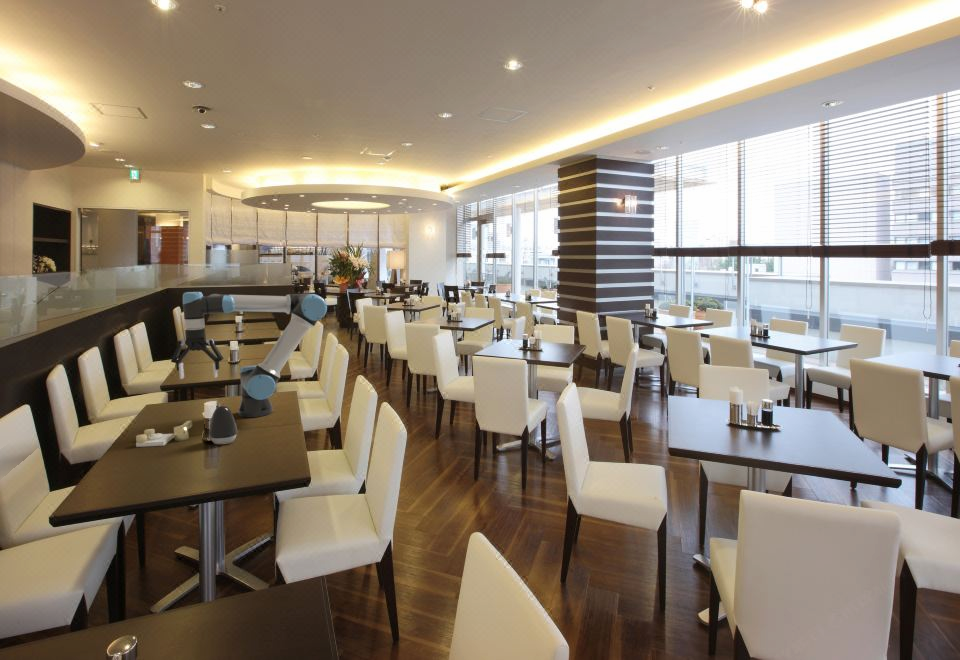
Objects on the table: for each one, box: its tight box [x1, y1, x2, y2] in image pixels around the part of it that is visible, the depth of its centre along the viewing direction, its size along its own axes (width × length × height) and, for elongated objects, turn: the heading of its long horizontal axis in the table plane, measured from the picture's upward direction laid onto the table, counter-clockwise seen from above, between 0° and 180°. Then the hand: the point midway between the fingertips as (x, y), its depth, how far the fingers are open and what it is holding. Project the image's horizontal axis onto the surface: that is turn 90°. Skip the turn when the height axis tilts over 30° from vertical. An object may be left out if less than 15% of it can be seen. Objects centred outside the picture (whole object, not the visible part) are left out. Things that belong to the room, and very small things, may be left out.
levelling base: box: [135, 428, 175, 448], centre depth 218 cm, size 10×14×4 cm
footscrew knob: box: [173, 420, 193, 442], centre depth 223 cm, size 12×5×5 cm, turn 9°
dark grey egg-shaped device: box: [208, 405, 238, 445], centre depth 216 cm, size 10×10×15 cm
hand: (199, 377), depth 231 cm, fingers open, 13 cm apart
